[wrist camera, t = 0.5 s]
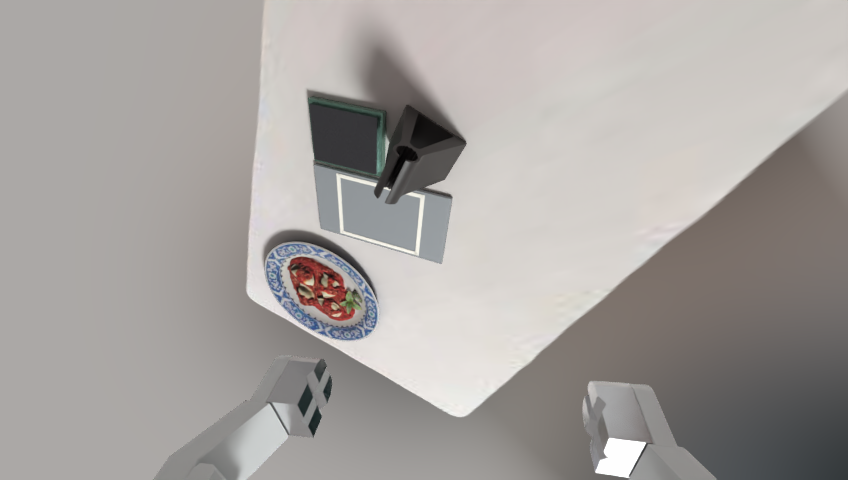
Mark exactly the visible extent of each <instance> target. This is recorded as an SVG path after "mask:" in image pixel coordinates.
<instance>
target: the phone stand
mask: <svg viewBox="0 0 848 480" xmlns="http://www.w3.org/2000/svg"><path fill="white" fill-rule="evenodd" d="M466 144H467V143H466V142H465V141H463V140H462V139H460V138H459V137H457V136H456V135H454V134H453V133H451V132H449V131H448V130H446V129H445V128H443V127H442V126H440V125H438V124H436V122H434V121H432V120H431V119H429V118H428V117H426V116H425V115H423V114H422V113H420V112H418V111H417V110H415V109H414V108H412V107H411V106H409V105H406V107H405V109H404V112H403V114H402V116H401V118H400V121H399V123H398V125H397V127H396V130H395V132H394V134H393V137H392V139H391V141H390V143H389V147H388V153H387V158H386V163H385V167H384V169H383V171H382V174H381V176H380V178H379V180H378V182H377V185H376V187H375V189H374V194H375V196H376V198H377V199H378V198H379V197H380V195H381V193H382V191H383V189H384V188H386V187H387V188H388V189H391V190H390V192H389V194H388V196H387V198H386V200H385V203H386V204H396V203H397V202H398V200H399V199H400V197H401V196H403V195H405V194H408V193H410V192H413V191H416V190H418V189H421V188H424V187H426V186H429V185H432V184H434V183H437V182H440V181H442V180H445V178H446V177H447V175H448V173H449V172H450V170H451V168H452V167H453V165H454V164H455V162H456V160H457V159H458V157H459V155H460V154H461V152H462V151H463V149H464V147H465V146H466Z"/></svg>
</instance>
